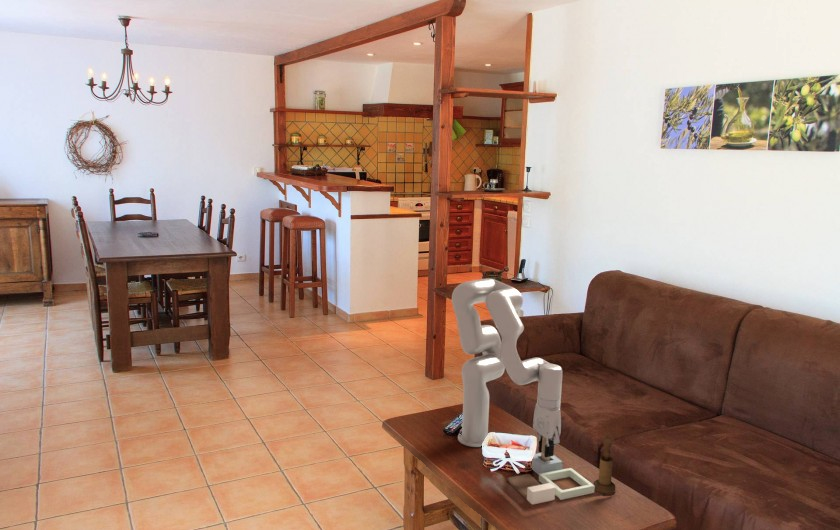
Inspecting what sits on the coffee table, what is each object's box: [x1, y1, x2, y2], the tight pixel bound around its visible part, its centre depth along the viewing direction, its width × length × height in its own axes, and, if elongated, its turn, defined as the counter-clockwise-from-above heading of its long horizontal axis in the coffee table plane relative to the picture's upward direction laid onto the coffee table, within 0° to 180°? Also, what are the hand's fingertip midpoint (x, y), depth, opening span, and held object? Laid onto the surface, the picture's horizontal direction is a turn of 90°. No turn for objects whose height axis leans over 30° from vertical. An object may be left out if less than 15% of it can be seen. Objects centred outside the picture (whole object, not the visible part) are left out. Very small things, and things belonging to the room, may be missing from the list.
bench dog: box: [526, 483, 556, 505], centre depth 194 cm, size 3×8×5 cm, turn 112°
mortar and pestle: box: [593, 436, 616, 497], centre depth 201 cm, size 7×6×18 cm
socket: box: [531, 452, 564, 476], centre depth 213 cm, size 8×8×5 cm
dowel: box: [540, 437, 552, 462], centre depth 213 cm, size 3×3×12 cm
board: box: [507, 473, 542, 500], centre depth 201 cm, size 12×8×2 cm, turn 21°
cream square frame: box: [538, 467, 595, 501], centre depth 202 cm, size 12×12×3 cm
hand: (545, 453), depth 213 cm, fingers closed on dowel, 2 cm apart
